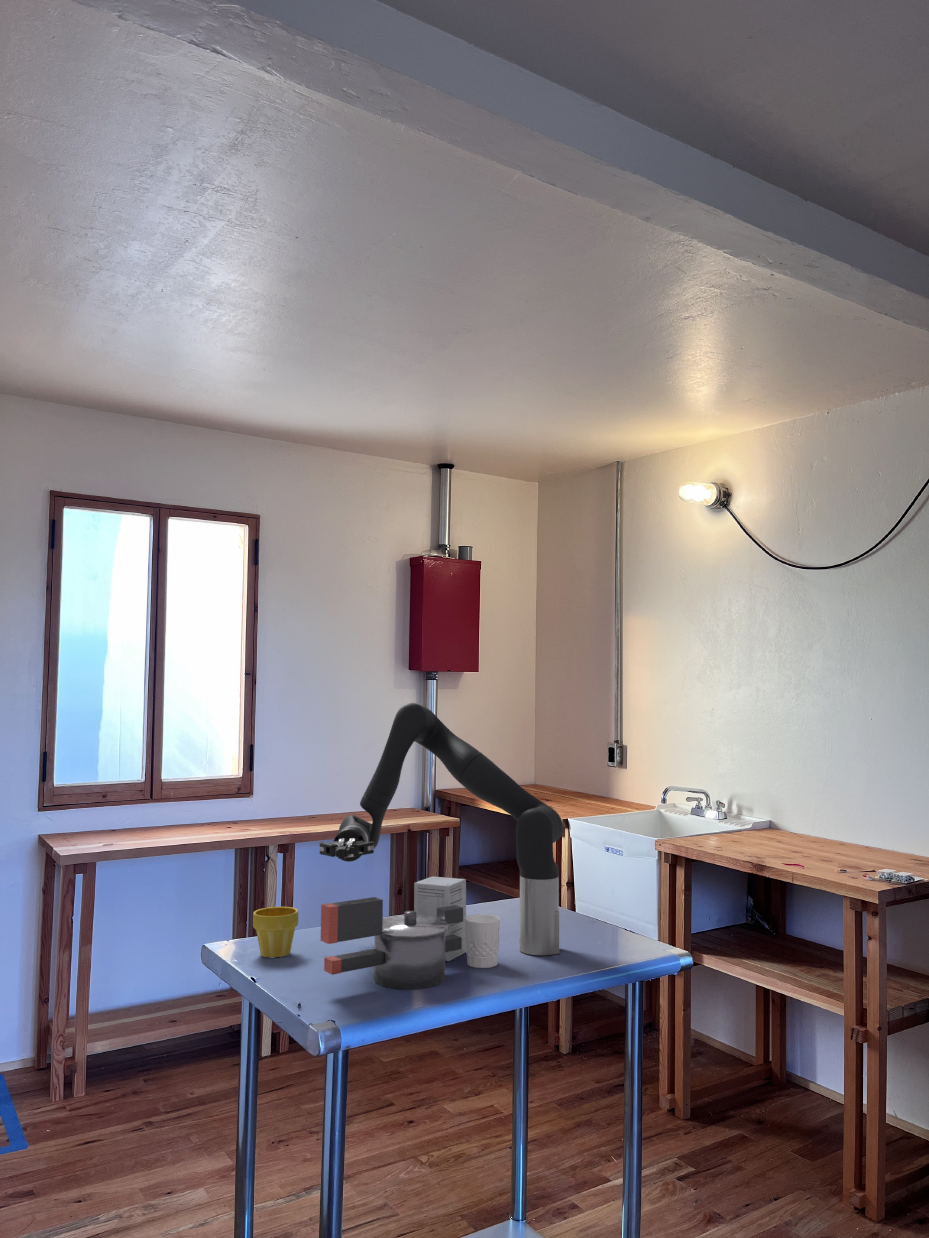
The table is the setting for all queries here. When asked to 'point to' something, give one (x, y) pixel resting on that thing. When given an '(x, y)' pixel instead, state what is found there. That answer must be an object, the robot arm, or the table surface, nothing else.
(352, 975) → the table surface
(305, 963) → the table surface
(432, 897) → the supplement box
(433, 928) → the lid
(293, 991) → the table surface
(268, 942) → the plant pot
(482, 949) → the white cup
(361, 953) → the pot
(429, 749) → the robot arm
